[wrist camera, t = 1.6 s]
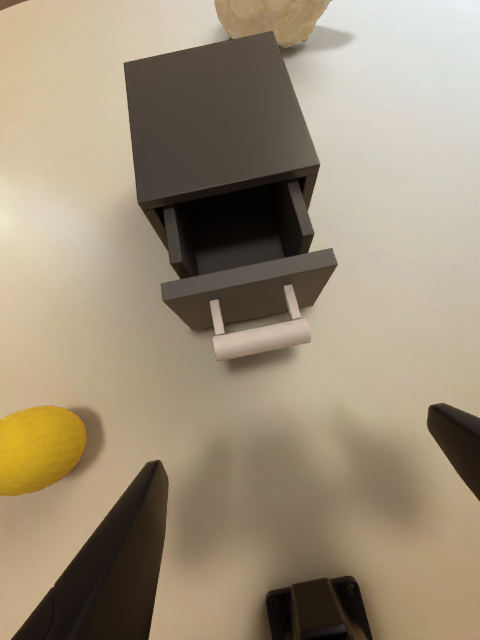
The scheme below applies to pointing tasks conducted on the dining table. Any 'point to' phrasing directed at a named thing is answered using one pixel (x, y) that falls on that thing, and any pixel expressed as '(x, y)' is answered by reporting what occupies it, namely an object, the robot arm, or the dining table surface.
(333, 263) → the dark grey drawer
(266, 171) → the dark drawer box
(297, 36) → the beige rock
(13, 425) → the lemon
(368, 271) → the dining table surface
